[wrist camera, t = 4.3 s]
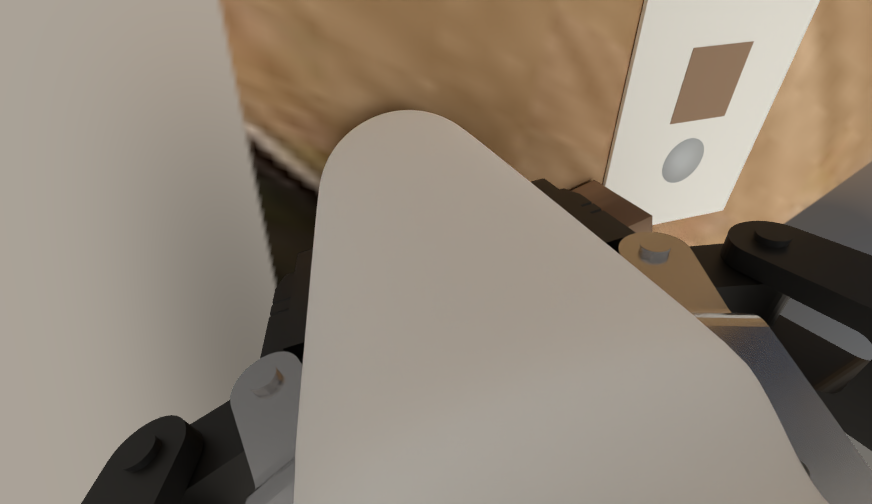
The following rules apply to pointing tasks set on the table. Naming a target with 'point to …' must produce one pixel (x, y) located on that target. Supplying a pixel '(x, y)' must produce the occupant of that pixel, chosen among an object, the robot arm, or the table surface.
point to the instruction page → (699, 99)
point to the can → (506, 349)
